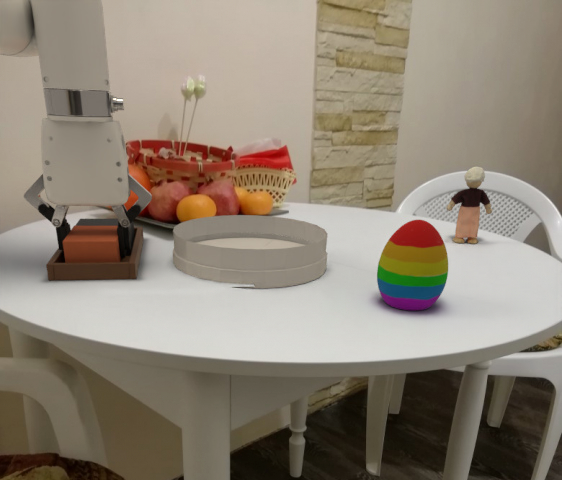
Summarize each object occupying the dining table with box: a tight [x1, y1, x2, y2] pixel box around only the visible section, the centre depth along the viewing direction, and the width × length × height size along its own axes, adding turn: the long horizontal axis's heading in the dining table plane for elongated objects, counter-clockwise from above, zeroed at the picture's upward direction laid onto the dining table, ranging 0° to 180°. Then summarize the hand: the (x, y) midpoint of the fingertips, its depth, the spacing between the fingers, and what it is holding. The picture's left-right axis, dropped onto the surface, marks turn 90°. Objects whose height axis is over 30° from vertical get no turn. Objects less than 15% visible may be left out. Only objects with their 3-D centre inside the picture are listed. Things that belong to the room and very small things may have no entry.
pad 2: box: [74, 218, 135, 256], centre depth 82 cm, size 8×9×4 cm
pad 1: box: [63, 225, 121, 263], centre depth 73 cm, size 6×9×4 cm
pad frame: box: [45, 226, 145, 282], centre depth 78 cm, size 11×22×3 cm, turn 10°
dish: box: [172, 214, 328, 289], centre depth 78 cm, size 22×22×5 cm
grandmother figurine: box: [446, 166, 493, 245], centre depth 95 cm, size 8×4×13 cm, turn 97°
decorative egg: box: [376, 219, 449, 312], centre depth 64 cm, size 8×8×10 cm
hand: (96, 254), depth 73 cm, fingers closed on pad 1, 6 cm apart
